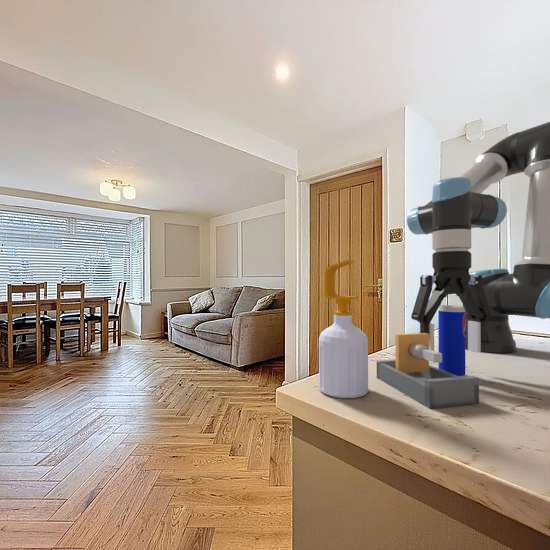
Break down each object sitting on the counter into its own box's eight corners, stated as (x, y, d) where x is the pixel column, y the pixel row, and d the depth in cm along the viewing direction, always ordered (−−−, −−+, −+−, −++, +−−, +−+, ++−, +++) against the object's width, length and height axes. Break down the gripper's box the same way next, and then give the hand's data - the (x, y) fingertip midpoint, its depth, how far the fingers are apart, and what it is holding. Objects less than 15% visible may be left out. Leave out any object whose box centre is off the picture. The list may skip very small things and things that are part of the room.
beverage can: (469, 379, 69) (468, 307, 69) (442, 378, 70) (442, 307, 71) (460, 372, 74) (460, 305, 75) (435, 371, 76) (435, 305, 76)
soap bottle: (359, 403, 57) (359, 258, 57) (310, 393, 62) (310, 260, 62) (374, 388, 64) (373, 260, 64) (329, 380, 69) (329, 261, 69)
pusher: (425, 369, 68) (425, 332, 68) (454, 382, 60) (454, 340, 60) (395, 371, 66) (395, 334, 66) (421, 384, 59) (421, 342, 59)
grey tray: (416, 374, 73) (416, 354, 73) (479, 403, 56) (479, 377, 56) (376, 377, 71) (376, 356, 71) (429, 408, 54) (429, 381, 54)
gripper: (482, 252, 79) (482, 346, 79) (393, 251, 74) (393, 351, 74) (511, 250, 71) (511, 353, 71) (414, 248, 66) (414, 359, 66)
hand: (451, 352), depth 72 cm, fingers open, 11 cm apart
